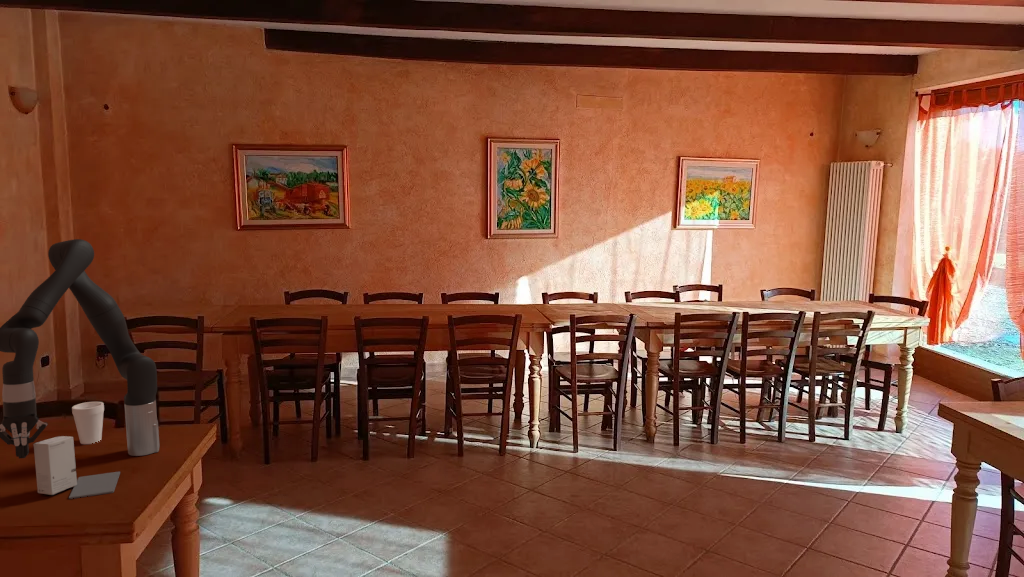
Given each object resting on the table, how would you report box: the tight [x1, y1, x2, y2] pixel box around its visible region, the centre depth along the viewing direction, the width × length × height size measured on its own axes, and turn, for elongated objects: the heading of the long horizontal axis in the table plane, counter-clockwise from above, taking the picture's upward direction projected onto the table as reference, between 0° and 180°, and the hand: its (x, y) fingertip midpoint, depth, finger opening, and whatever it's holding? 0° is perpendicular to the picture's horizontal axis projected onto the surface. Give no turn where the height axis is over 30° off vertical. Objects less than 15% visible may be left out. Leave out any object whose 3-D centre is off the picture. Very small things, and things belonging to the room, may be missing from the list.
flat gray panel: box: [68, 471, 121, 500], centre depth 202 cm, size 11×16×1 cm
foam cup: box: [71, 401, 105, 445], centre depth 239 cm, size 10×9×13 cm
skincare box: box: [32, 435, 78, 496], centre depth 198 cm, size 8×6×15 cm
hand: (22, 457), depth 194 cm, fingers closed
